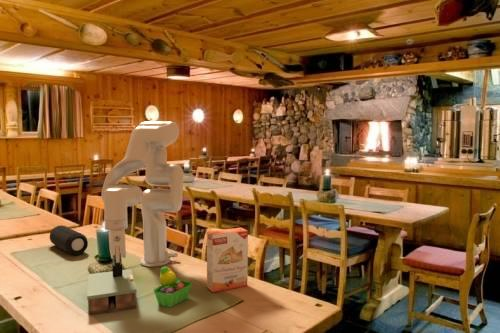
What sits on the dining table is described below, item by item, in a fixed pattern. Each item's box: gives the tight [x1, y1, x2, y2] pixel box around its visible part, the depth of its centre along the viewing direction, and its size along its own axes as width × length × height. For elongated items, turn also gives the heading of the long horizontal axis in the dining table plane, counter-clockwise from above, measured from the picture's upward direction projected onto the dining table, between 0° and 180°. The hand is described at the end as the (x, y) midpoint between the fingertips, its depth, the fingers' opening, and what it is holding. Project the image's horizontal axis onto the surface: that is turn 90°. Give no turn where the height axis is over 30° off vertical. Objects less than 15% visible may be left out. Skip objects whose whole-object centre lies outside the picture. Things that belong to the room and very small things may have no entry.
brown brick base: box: [87, 292, 137, 316], centre depth 141 cm, size 14×20×5 cm
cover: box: [86, 268, 137, 301], centre depth 141 cm, size 15×21×2 cm
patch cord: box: [109, 296, 115, 310], centre depth 140 cm, size 1×20×1 cm, turn 20°
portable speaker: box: [49, 225, 89, 256], centre depth 198 cm, size 26×10×10 cm, turn 44°
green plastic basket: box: [153, 266, 193, 308], centre depth 140 cm, size 11×9×11 cm
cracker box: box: [206, 227, 249, 293], centre depth 151 cm, size 14×6×21 cm, turn 117°
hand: (117, 275), depth 146 cm, fingers closed
